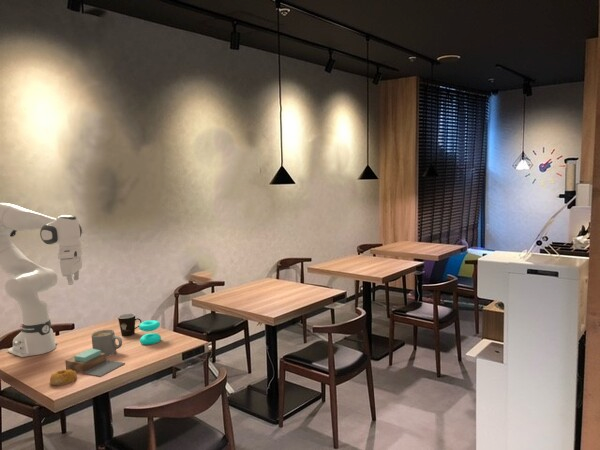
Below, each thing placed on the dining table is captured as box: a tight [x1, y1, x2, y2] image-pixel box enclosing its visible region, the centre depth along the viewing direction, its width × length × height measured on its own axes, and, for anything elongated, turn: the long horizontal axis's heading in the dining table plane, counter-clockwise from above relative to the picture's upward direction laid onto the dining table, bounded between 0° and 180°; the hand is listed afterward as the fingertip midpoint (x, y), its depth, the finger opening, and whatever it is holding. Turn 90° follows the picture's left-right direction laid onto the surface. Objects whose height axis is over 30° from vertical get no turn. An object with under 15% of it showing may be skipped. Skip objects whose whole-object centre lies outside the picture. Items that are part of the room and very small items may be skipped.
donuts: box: [138, 319, 162, 346], centre depth 236 cm, size 10×10×10 cm
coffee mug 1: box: [91, 329, 123, 358], centre depth 222 cm, size 13×10×10 cm
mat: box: [82, 359, 126, 378], centre depth 206 cm, size 10×14×1 cm
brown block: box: [64, 353, 107, 373], centre depth 209 cm, size 11×12×4 cm
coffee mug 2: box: [117, 313, 143, 338], centre depth 248 cm, size 12×9×10 cm
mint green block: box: [73, 348, 101, 362], centre depth 209 cm, size 6×9×2 cm, turn 157°
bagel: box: [49, 369, 77, 386], centre depth 195 cm, size 10×11×5 cm
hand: (73, 282), depth 212 cm, fingers open, 8 cm apart
